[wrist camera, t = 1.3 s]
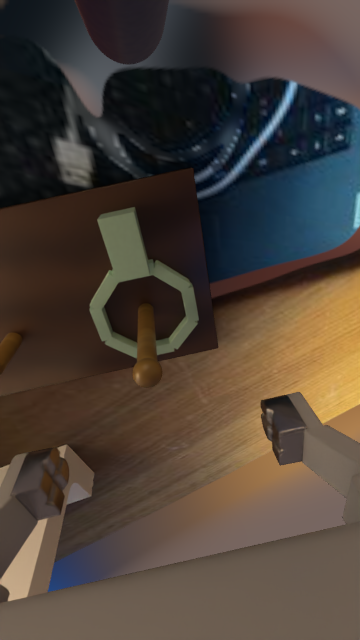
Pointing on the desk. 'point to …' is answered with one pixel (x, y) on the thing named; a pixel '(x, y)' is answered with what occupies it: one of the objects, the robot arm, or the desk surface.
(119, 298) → the peg rack
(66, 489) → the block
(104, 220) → the hanging tag
